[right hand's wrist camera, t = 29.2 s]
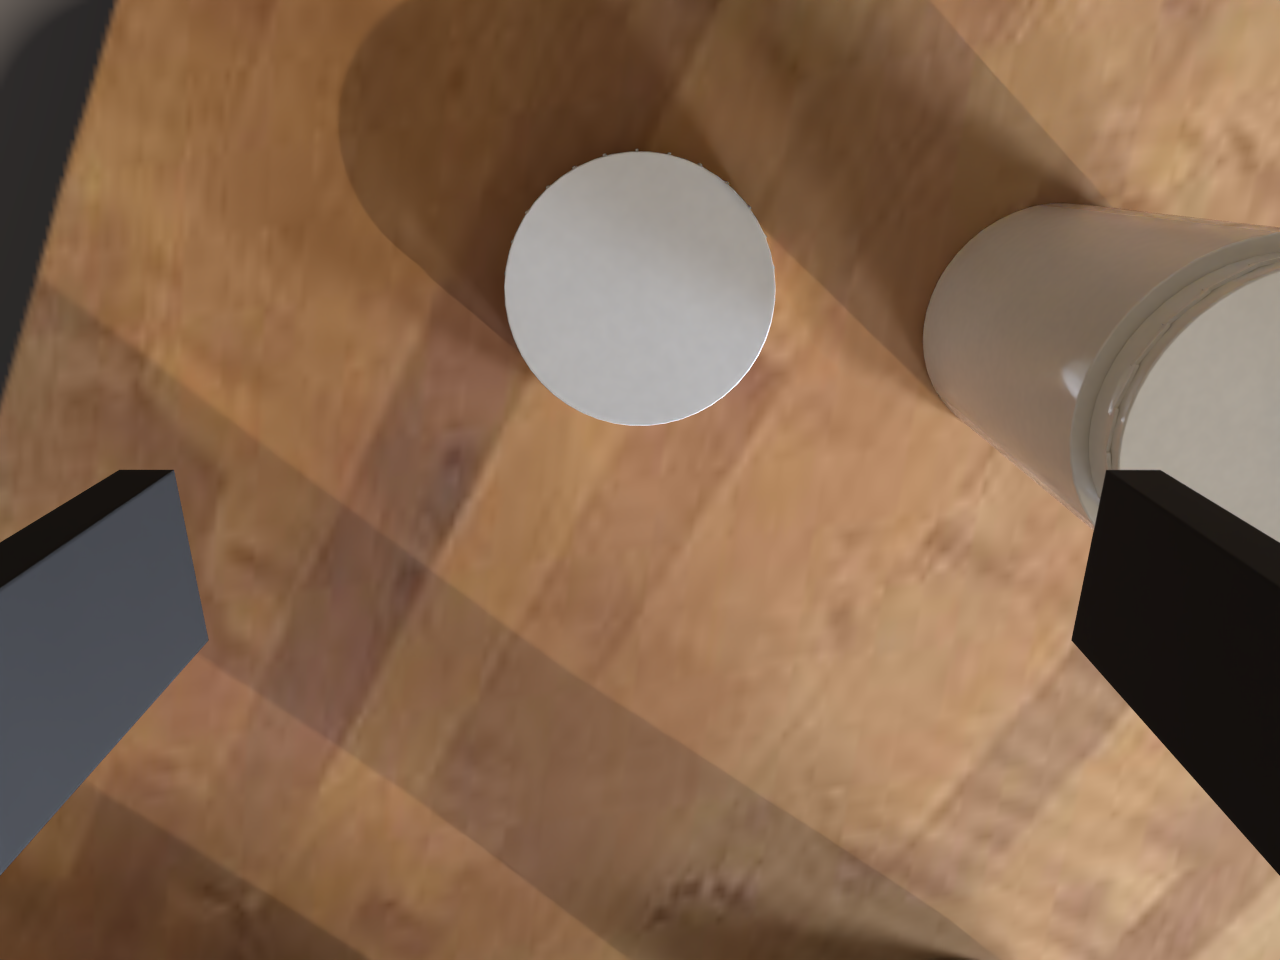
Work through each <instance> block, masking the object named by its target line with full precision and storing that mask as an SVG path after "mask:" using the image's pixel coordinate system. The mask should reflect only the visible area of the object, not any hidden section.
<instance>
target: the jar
mask: <svg viewBox="0 0 1280 960" xmlns="http://www.w3.org/2000/svg"><path fill="white" fill-rule="evenodd" d="M923 350H924V359H925V364H926V368H927V372H928V375H929V377H930V380H931V382H932V385H933V387H934V389H935V390H936V392H937V394H938V396H939V397H940V399H941V400H942V401H943V402H944V404H945V405H946V406H947V408H948V409H949V410H950V411H952V412H953V413H954V414H955V415H956V416H957V417H958V418H959V419H960V420H961V421H963V422H964V423H965V424H966V425H967V426H969V427H970V428H971V429H972V430H973V431H975V432H976V433H977V434H978V435H979V436H981V437H982V438H983V439H984V440H985V441H987V442H988V443H989V444H990V445H991V446H993V447H994V448H995V449H996V450H997V451H999V452H1000V453H1001V454H1002V455H1003V456H1005V457H1006V458H1007V459H1008V460H1009V461H1011V462H1012V463H1013V464H1014V465H1015V466H1017V467H1018V468H1019V469H1020V470H1021V471H1023V472H1024V473H1025V474H1026V475H1027V476H1029V477H1030V478H1031V479H1032V480H1033V481H1035V482H1036V483H1037V484H1038V485H1039V486H1041V487H1042V488H1043V489H1044V490H1045V491H1047V492H1048V493H1049V494H1050V495H1051V496H1053V497H1054V498H1055V499H1056V500H1057V501H1059V502H1060V503H1061V504H1062V505H1063V506H1065V507H1066V508H1067V509H1068V510H1069V511H1071V512H1072V513H1073V514H1074V515H1075V516H1077V517H1078V518H1079V519H1080V520H1082V521H1083V522H1084V523H1085V524H1086V525H1088V526H1089V527H1090V528H1091V529H1092V530H1094V527H1095V522H1096V517H1097V512H1098V507H1099V502H1100V497H1101V493H1102V488H1103V483H1104V478H1105V473H1106V470H1161V471H1163V472H1165V473H1166V474H1168V475H1170V476H1171V477H1173V478H1175V479H1176V480H1178V481H1179V482H1181V483H1183V484H1184V485H1186V486H1188V487H1189V488H1191V489H1193V490H1194V491H1196V492H1198V493H1199V494H1201V495H1202V496H1204V497H1206V498H1207V499H1209V500H1211V501H1212V502H1214V503H1216V504H1217V505H1219V506H1221V507H1222V508H1224V509H1225V510H1227V511H1229V512H1230V513H1232V514H1234V515H1235V516H1237V517H1239V518H1240V519H1242V520H1243V521H1245V522H1247V523H1248V524H1250V525H1252V526H1253V527H1255V528H1257V529H1258V530H1260V531H1262V532H1263V533H1265V534H1266V535H1268V536H1270V537H1271V538H1273V539H1275V540H1276V541H1278V542H1280V227H1272V226H1264V225H1255V224H1246V223H1238V222H1229V221H1221V220H1212V219H1204V218H1195V217H1186V216H1178V215H1169V214H1161V213H1152V212H1144V211H1135V210H1126V209H1118V208H1109V207H1101V206H1092V205H1084V204H1072V203H1052V204H1043V205H1038V206H1033V207H1029V208H1026V209H1023V210H1020V211H1017V212H1014V213H1012V214H1010V215H1008V216H1006V217H1004V218H1001V219H999V220H997V221H996V222H994V223H993V224H991V225H990V226H988V227H986V228H985V229H983V230H982V231H981V232H980V233H978V234H977V235H976V236H975V237H973V238H972V239H971V240H970V241H969V242H968V243H967V244H966V245H965V246H964V247H963V248H962V249H961V250H960V251H959V252H958V253H957V254H956V255H955V257H954V258H953V259H952V261H951V262H950V263H949V264H948V266H947V267H946V269H945V271H944V272H943V274H942V275H941V277H940V279H939V280H938V283H937V285H936V287H935V289H934V291H933V293H932V296H931V299H930V302H929V305H928V308H927V311H926V317H925V322H924V330H923Z"/></svg>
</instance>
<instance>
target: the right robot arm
mask: <svg viewBox="0 0 1280 960" xmlns="http://www.w3.org/2000/svg"><path fill="white" fill-rule="evenodd" d="M207 641H208V635H207V630H206V625H205V620H204V616H203V611H202V606H201V601H200V596H199V591H198V586H197V581H196V576H195V571H194V566H193V561H192V557H191V552H190V547H189V542H188V537H187V532H186V527H185V522H184V517H183V512H182V507H181V502H180V497H179V493H178V488H177V483H176V478H175V473H174V470H119V471H117V472H115V473H114V474H112V475H110V476H109V477H107V478H105V479H104V480H102V481H101V482H99V483H97V484H96V485H94V486H92V487H91V488H89V489H87V490H86V491H84V492H82V493H81V494H79V495H78V496H76V497H74V498H73V499H71V500H69V501H68V502H66V503H64V504H63V505H61V506H59V507H58V508H56V509H55V510H53V511H51V512H50V513H48V514H46V515H45V516H43V517H41V518H40V519H38V520H37V521H35V522H33V523H32V524H30V525H28V526H27V527H25V528H23V529H22V530H20V531H18V532H17V533H15V534H14V535H12V536H10V537H9V538H7V539H5V540H4V541H2V542H0V875H1V874H2V873H3V872H4V871H5V870H6V868H7V867H8V866H9V865H10V864H11V863H12V862H13V861H14V859H15V858H16V857H17V856H18V855H19V854H20V853H21V851H22V850H23V849H24V848H25V847H26V846H27V845H28V844H29V842H30V841H31V840H32V839H33V838H34V837H35V836H36V835H37V833H38V832H39V831H40V830H41V829H42V828H43V827H44V825H45V824H46V823H47V822H48V821H49V820H50V819H51V818H52V816H53V815H54V814H55V813H56V812H57V811H58V810H59V809H60V807H61V806H62V805H63V804H64V803H65V802H66V801H67V800H68V798H69V797H70V796H71V795H72V794H73V793H74V792H75V790H76V789H77V788H78V787H79V786H80V785H81V784H82V783H83V781H84V780H85V779H86V778H87V777H88V776H89V775H90V774H91V772H92V771H93V770H94V769H95V768H96V767H97V766H98V764H99V763H100V762H101V761H102V760H103V759H104V758H105V757H106V755H107V754H108V753H109V752H110V751H111V750H112V749H113V748H114V746H115V745H116V744H117V743H118V742H119V741H120V740H121V739H122V737H123V736H124V735H125V734H126V733H127V732H128V731H129V729H130V728H131V727H132V726H133V725H134V724H135V723H136V722H137V720H138V719H139V718H140V717H141V716H142V715H143V714H144V713H145V711H146V710H147V709H148V708H149V707H150V706H151V705H152V703H153V702H154V701H155V700H156V699H157V698H158V697H159V696H160V694H161V693H162V692H163V691H164V690H165V689H166V688H167V687H168V685H169V684H170V683H171V682H172V681H173V680H174V679H175V677H176V676H177V675H178V674H179V673H180V672H181V671H182V670H183V668H184V667H185V666H186V665H187V664H188V663H189V662H190V661H191V659H192V658H193V657H194V656H195V655H196V654H197V653H198V652H199V650H200V649H201V648H202V647H203V646H204V645H205V644H206V642H207ZM1072 641H1073V642H1074V644H1075V645H1076V646H1077V647H1078V648H1079V649H1080V650H1081V652H1082V653H1083V654H1084V655H1085V656H1086V657H1087V658H1088V659H1089V661H1090V662H1091V663H1092V664H1093V665H1094V666H1095V667H1096V668H1097V670H1098V671H1099V672H1100V673H1101V674H1102V675H1103V676H1104V677H1105V679H1106V680H1107V681H1108V682H1109V683H1110V684H1111V685H1112V687H1113V688H1114V689H1115V690H1116V691H1117V692H1118V693H1119V694H1120V696H1121V697H1122V698H1123V699H1124V700H1125V701H1126V702H1127V703H1128V705H1129V706H1130V707H1131V708H1132V709H1133V710H1134V711H1135V713H1136V714H1137V715H1138V716H1139V717H1140V718H1141V719H1142V720H1143V722H1144V723H1145V724H1146V725H1147V726H1148V727H1149V728H1150V729H1151V731H1152V732H1153V733H1154V734H1155V735H1156V736H1157V737H1158V739H1159V740H1160V741H1161V742H1162V743H1163V744H1164V745H1165V746H1166V748H1167V749H1168V750H1169V751H1170V752H1171V753H1172V754H1173V755H1174V757H1175V758H1176V759H1177V760H1178V761H1179V762H1180V763H1181V764H1182V766H1183V767H1184V768H1185V769H1186V770H1187V771H1188V772H1189V774H1190V775H1191V776H1192V777H1193V778H1194V779H1195V780H1196V781H1197V783H1198V784H1199V785H1200V786H1201V787H1202V788H1203V789H1204V790H1205V792H1206V793H1207V794H1208V795H1209V796H1210V797H1211V798H1212V800H1213V801H1214V802H1215V803H1216V804H1217V805H1218V806H1219V807H1220V809H1221V810H1222V811H1223V812H1224V813H1225V814H1226V815H1227V816H1228V818H1229V819H1230V820H1231V821H1232V822H1233V823H1234V824H1235V825H1236V827H1237V828H1238V829H1239V830H1240V831H1241V832H1242V833H1243V835H1244V836H1245V837H1246V838H1247V839H1248V840H1249V841H1250V842H1251V844H1252V845H1253V846H1254V847H1255V848H1256V849H1257V850H1258V851H1259V853H1260V854H1261V855H1262V856H1263V857H1264V858H1265V859H1266V861H1267V862H1268V863H1269V864H1270V865H1271V866H1272V867H1273V868H1274V870H1275V871H1276V872H1277V873H1278V874H1279V875H1280V542H1278V541H1276V540H1275V539H1273V538H1271V537H1270V536H1268V535H1266V534H1265V533H1263V532H1262V531H1260V530H1258V529H1257V528H1255V527H1253V526H1252V525H1250V524H1248V523H1247V522H1245V521H1243V520H1242V519H1240V518H1239V517H1237V516H1235V515H1234V514H1232V513H1230V512H1229V511H1227V510H1225V509H1224V508H1222V507H1221V506H1219V505H1217V504H1216V503H1214V502H1212V501H1211V500H1209V499H1207V498H1206V497H1204V496H1202V495H1201V494H1199V493H1198V492H1196V491H1194V490H1193V489H1191V488H1189V487H1188V486H1186V485H1184V484H1183V483H1181V482H1179V481H1178V480H1176V479H1175V478H1173V477H1171V476H1170V475H1168V474H1166V473H1165V472H1163V471H1161V470H1106V473H1105V478H1104V483H1103V488H1102V493H1101V497H1100V502H1099V507H1098V512H1097V517H1096V522H1095V527H1094V532H1093V537H1092V542H1091V547H1090V552H1089V557H1088V561H1087V566H1086V571H1085V576H1084V581H1083V586H1082V591H1081V596H1080V601H1079V606H1078V611H1077V616H1076V620H1075V625H1074V630H1073V635H1072Z"/></svg>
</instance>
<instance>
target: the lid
mask: <svg viewBox="0 0 1280 960" xmlns="http://www.w3.org/2000/svg"><path fill="white" fill-rule="evenodd" d="M572 169H573V170H571V171H569V172H568V173H566V174H565V175H563V176H561V177H560V178H559V179H558V180H556V181H555V182H554V183H553V184H552V185H548V186H546V190H545V191H544V192H543V193H542V194H541V195H540V196H539V198H538V199H537V200H536V201H535V202H534V203H533V205H532V206H531V208H530V209H529V210H527V211H526V212H525V214H526V215H525V216H524V218H523V220H522V222H521V224H520V226H519V228H518V230H517V232H516V234H515V236H514V239H513V240H512V241H511V243H512V245H511V248H510V250H509V255H508V260H507V264H506V269H505V272H504V275H505V283H504V293H505V307H506V312H507V318H508V323H509V326H510V329H511V332H512V335H513V338H514V341H515V343H516V345H517V347H518V349H519V351H520V354H521V356H522V357H523V359H524V360H525V362H526V363H527V365H528V367H529V368H530V370H531V371H532V372H533V373H534V375H535V376H536V377H537V378H538V379H539V381H540V382H541V383H542V384H543V385H544V386H545V387H546V388H547V389H548V390H549V391H551V392H552V393H553V394H554V395H555V396H556V397H558V398H559V399H561V400H562V401H563V402H565V403H566V404H567V405H569V406H571V407H573V408H575V409H576V410H578V411H580V412H582V413H584V414H587V415H589V416H592V417H594V418H597V419H600V420H604V421H607V422H611V423H616V424H624V425H656V424H664V423H668V422H672V421H676V420H680V419H683V418H686V417H688V416H691V415H693V414H696V413H698V412H700V411H701V410H703V409H705V408H707V407H709V406H711V405H712V404H714V403H715V402H716V401H718V400H719V399H721V398H722V397H723V396H725V395H726V394H727V393H728V392H729V391H730V390H731V389H732V388H733V387H734V386H736V385H737V384H738V383H739V381H740V380H741V379H742V378H743V377H744V375H745V374H746V373H747V372H748V371H749V369H750V368H751V366H752V364H753V363H754V361H755V360H756V358H757V357H758V355H759V353H760V351H761V349H762V346H763V344H764V342H765V340H766V337H767V334H768V332H769V328H770V325H771V321H772V316H773V310H774V305H775V274H774V269H775V267H774V266H773V261H772V256H771V252H770V249H769V246H768V243H767V240H766V237H767V236H766V235H765V234H764V232H763V230H762V228H761V226H760V224H759V222H758V220H757V219H756V217H755V215H754V214H753V212H752V211H751V210H750V209H751V207H750V206H749V205H747V204H746V202H745V201H744V200H743V199H742V198H741V197H740V196H739V195H738V194H737V192H736V191H735V190H734V189H733V188H732V187H730V186H729V184H730V183H729V182H727V181H723V180H722V179H721V178H720V177H718V176H717V175H715V174H714V173H712V172H710V171H709V170H707V169H706V168H704V167H702V164H701V163H698V164H695V163H693V162H691V161H689V160H686V159H683V158H680V157H676V156H673V155H671V152H668V153H667V154H664V153H657V152H650V151H638V149H635V151H630V152H623V153H616V154H610V155H607V154H603V157H600V158H596V159H593V160H591V161H589V162H587V163H584V164H582V165H580V166H578V167H577V166H573V167H572Z"/></svg>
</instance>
